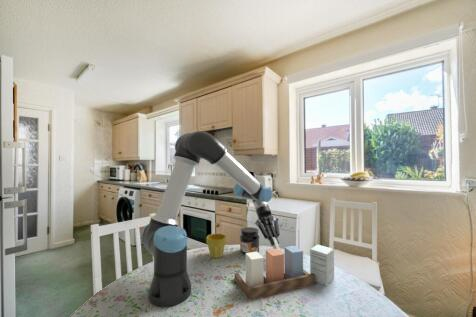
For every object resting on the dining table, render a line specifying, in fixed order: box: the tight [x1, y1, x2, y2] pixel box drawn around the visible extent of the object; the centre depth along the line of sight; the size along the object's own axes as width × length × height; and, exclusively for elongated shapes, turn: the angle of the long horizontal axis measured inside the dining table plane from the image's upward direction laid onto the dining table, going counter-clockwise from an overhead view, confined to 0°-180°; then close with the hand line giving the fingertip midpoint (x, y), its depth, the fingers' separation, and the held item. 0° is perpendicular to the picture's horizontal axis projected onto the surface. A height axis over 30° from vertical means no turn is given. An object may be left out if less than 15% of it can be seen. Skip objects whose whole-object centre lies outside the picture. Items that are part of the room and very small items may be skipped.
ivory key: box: [245, 252, 265, 287], centre depth 85 cm, size 5×6×12 cm
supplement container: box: [239, 226, 260, 256], centre depth 117 cm, size 10×10×12 cm
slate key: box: [284, 245, 304, 278], centre depth 91 cm, size 5×6×12 cm
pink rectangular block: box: [265, 248, 285, 282], centre depth 88 cm, size 5×6×12 cm
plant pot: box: [205, 233, 227, 259], centre depth 113 cm, size 10×10×10 cm
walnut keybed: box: [234, 268, 316, 301], centre depth 88 cm, size 29×14×4 cm, turn 110°
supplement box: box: [309, 244, 335, 286], centre depth 91 cm, size 7×7×13 cm
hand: (277, 251), depth 103 cm, fingers closed
